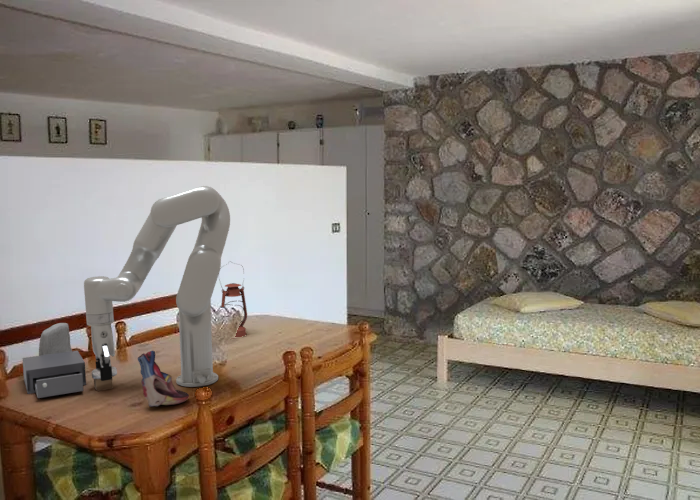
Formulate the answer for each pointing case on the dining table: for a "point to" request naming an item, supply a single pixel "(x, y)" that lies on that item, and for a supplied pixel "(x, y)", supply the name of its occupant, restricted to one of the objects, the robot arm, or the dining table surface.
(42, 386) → the grey drawer
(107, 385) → the tan cube
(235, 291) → the lantern
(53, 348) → the decorative stone
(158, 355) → the dining table surface
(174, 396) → the anatomical model
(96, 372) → the disc
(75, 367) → the box
